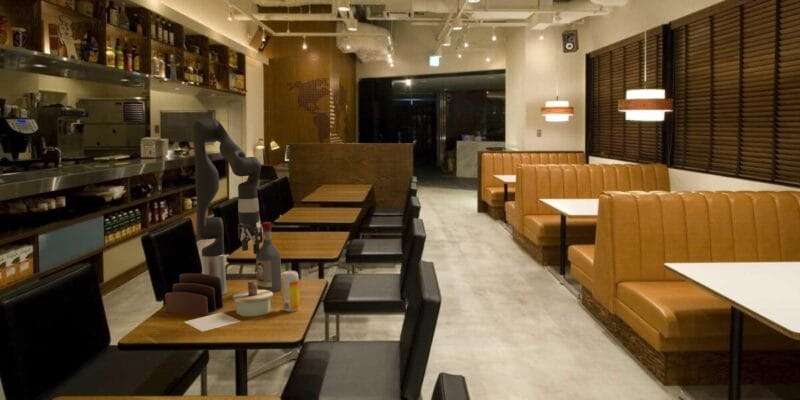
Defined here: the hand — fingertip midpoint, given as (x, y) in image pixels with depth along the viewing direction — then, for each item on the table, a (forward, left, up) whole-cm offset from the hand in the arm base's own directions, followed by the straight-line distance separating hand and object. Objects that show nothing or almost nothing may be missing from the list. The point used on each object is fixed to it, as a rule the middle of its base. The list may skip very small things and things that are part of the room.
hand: (250, 252), depth 227 cm
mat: (0, -17, -24) cm, 29 cm away
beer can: (+8, +12, -24) cm, 28 cm away
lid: (0, 0, -18) cm, 18 cm away
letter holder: (-19, -15, -24) cm, 34 cm away
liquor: (-23, +21, -24) cm, 39 cm away
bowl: (0, 0, -24) cm, 24 cm away
